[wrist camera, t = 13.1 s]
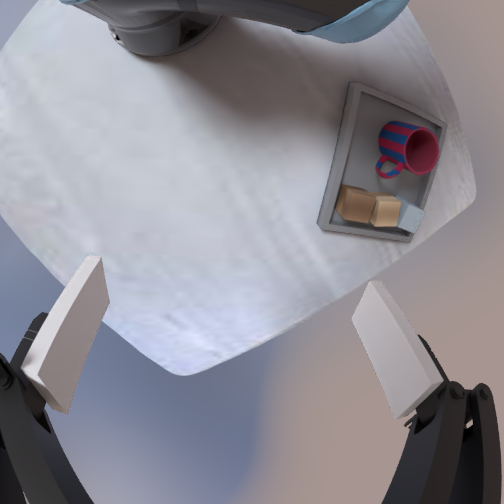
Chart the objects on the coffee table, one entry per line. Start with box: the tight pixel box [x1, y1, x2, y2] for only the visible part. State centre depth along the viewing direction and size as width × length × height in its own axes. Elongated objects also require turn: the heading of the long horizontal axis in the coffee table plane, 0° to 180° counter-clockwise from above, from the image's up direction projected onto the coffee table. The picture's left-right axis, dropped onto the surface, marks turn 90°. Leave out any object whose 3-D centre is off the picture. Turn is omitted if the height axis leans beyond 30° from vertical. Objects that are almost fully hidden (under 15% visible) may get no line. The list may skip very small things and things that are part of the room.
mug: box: [375, 121, 439, 179], centre depth 32 cm, size 7×10×7 cm
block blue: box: [395, 195, 425, 233], centre depth 38 cm, size 4×4×4 cm
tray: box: [317, 82, 447, 243], centre depth 36 cm, size 22×18×2 cm
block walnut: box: [335, 184, 376, 223], centre depth 37 cm, size 4×4×4 cm
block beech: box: [369, 192, 401, 227], centre depth 38 cm, size 4×4×4 cm
